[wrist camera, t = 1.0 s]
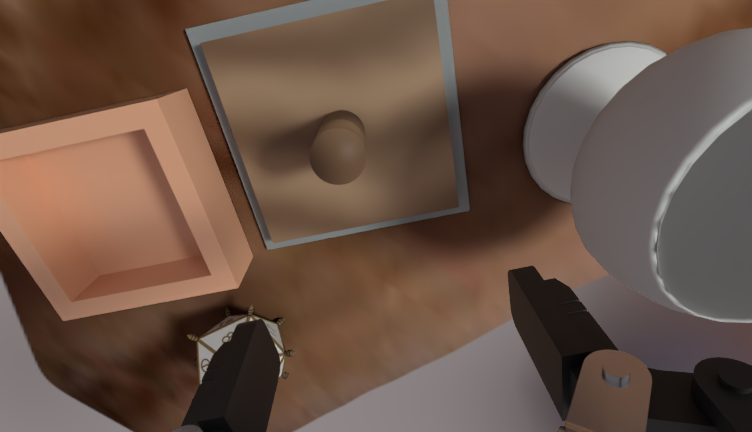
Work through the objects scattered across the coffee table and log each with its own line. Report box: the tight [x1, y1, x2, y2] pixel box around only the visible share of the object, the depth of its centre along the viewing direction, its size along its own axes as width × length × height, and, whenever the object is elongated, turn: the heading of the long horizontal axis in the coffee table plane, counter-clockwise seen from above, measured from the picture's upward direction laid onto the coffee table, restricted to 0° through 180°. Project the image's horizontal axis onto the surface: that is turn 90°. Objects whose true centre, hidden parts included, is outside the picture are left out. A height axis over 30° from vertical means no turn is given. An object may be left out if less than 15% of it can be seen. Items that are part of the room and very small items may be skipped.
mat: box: [185, 0, 470, 250], centre depth 29 cm, size 17×17×1 cm
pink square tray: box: [0, 88, 253, 321], centre depth 29 cm, size 14×14×4 cm
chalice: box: [523, 28, 752, 323], centre depth 23 cm, size 14×14×15 cm
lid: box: [200, 0, 459, 243], centre depth 26 cm, size 15×15×7 cm
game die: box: [187, 305, 295, 401], centre depth 33 cm, size 9×8×10 cm
